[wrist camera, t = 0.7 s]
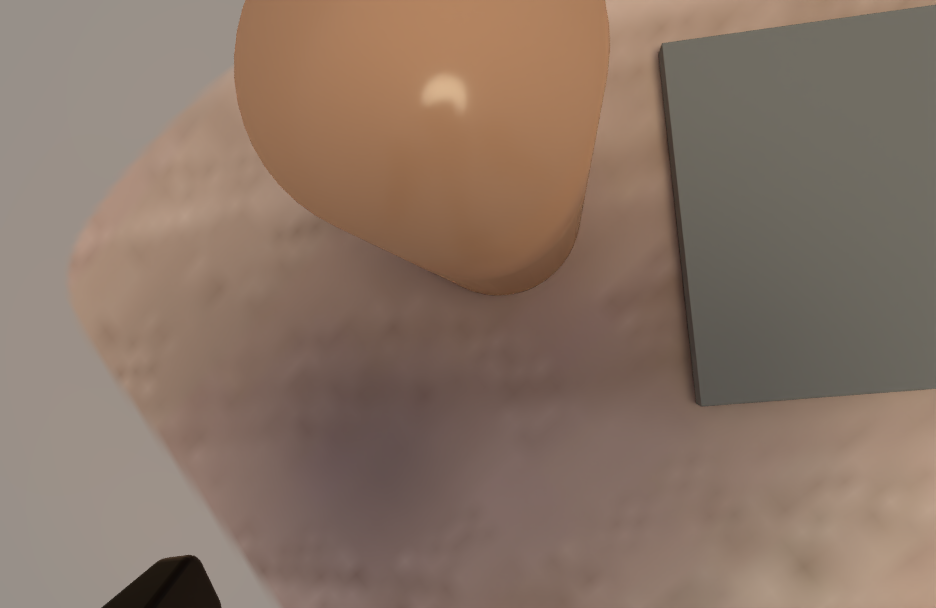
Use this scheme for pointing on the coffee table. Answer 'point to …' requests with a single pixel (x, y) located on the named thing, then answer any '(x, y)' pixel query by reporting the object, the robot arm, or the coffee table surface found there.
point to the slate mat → (807, 206)
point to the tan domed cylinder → (432, 124)
